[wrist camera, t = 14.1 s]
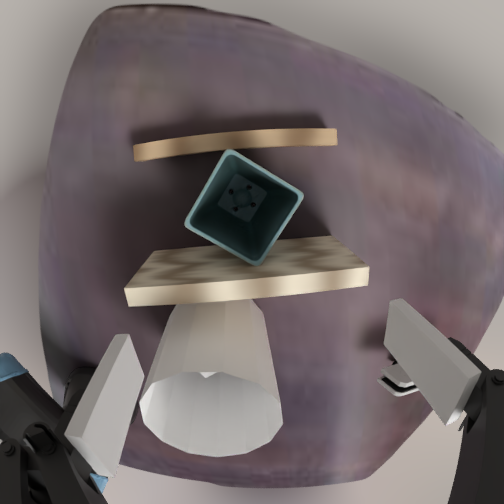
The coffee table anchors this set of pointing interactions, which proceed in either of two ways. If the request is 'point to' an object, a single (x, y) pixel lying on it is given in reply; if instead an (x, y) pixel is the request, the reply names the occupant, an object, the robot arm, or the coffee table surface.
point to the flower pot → (243, 208)
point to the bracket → (396, 380)
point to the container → (213, 380)
